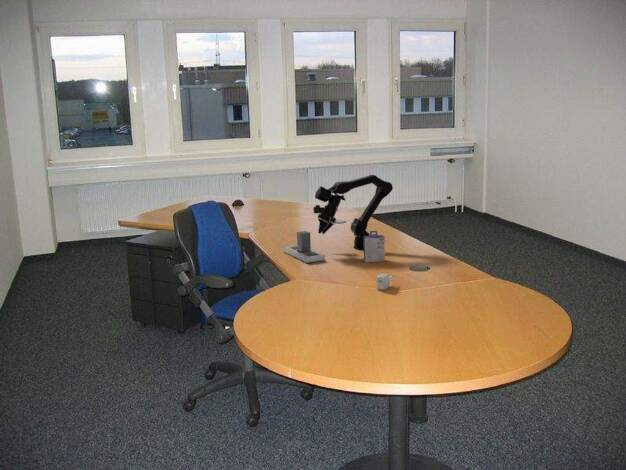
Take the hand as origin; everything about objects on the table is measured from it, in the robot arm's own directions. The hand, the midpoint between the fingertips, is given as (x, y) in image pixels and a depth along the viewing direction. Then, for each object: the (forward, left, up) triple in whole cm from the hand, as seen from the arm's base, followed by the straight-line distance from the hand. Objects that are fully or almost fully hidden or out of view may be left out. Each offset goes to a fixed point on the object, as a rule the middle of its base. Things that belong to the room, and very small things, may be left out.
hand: (321, 233), depth 314 cm
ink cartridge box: (-14, +29, -10) cm, 33 cm away
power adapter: (+5, +67, -10) cm, 68 cm away
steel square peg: (+12, +4, -9) cm, 15 cm away
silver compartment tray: (+12, +4, -10) cm, 16 cm away
